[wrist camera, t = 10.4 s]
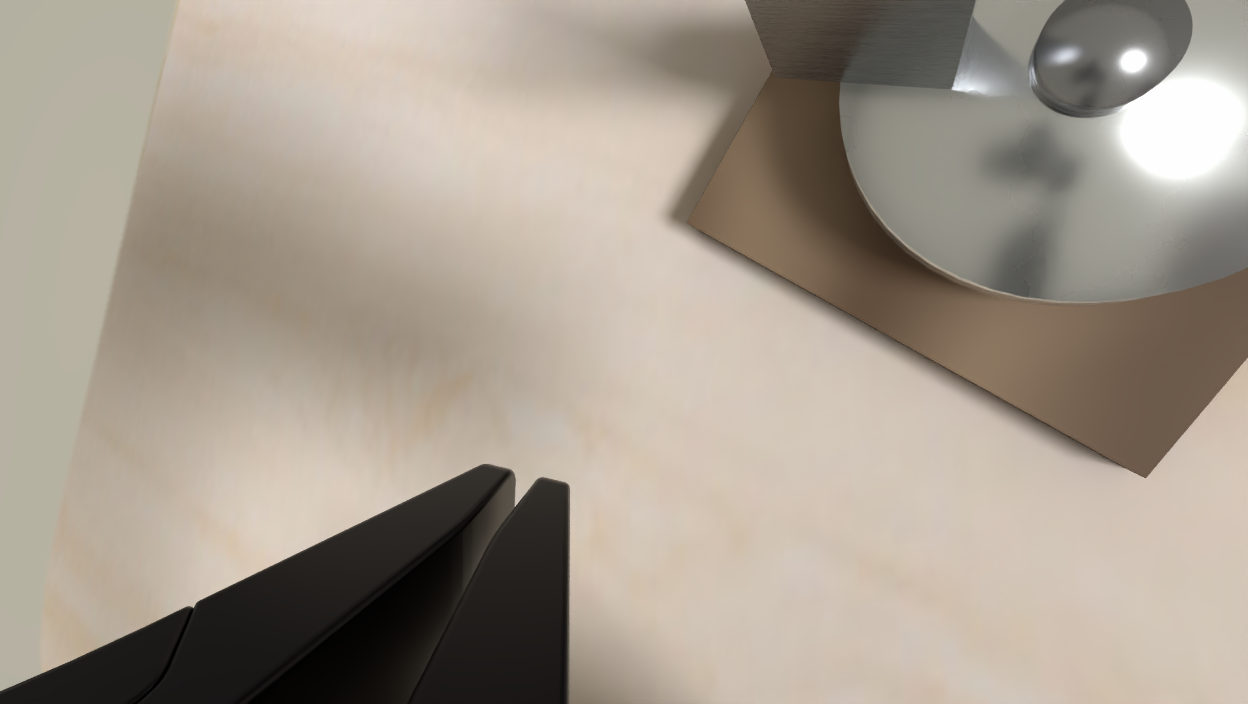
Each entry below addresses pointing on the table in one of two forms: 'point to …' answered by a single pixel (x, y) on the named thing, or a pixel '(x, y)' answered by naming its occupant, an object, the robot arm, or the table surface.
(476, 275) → the table surface
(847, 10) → the disc and block
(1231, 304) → the walnut board
